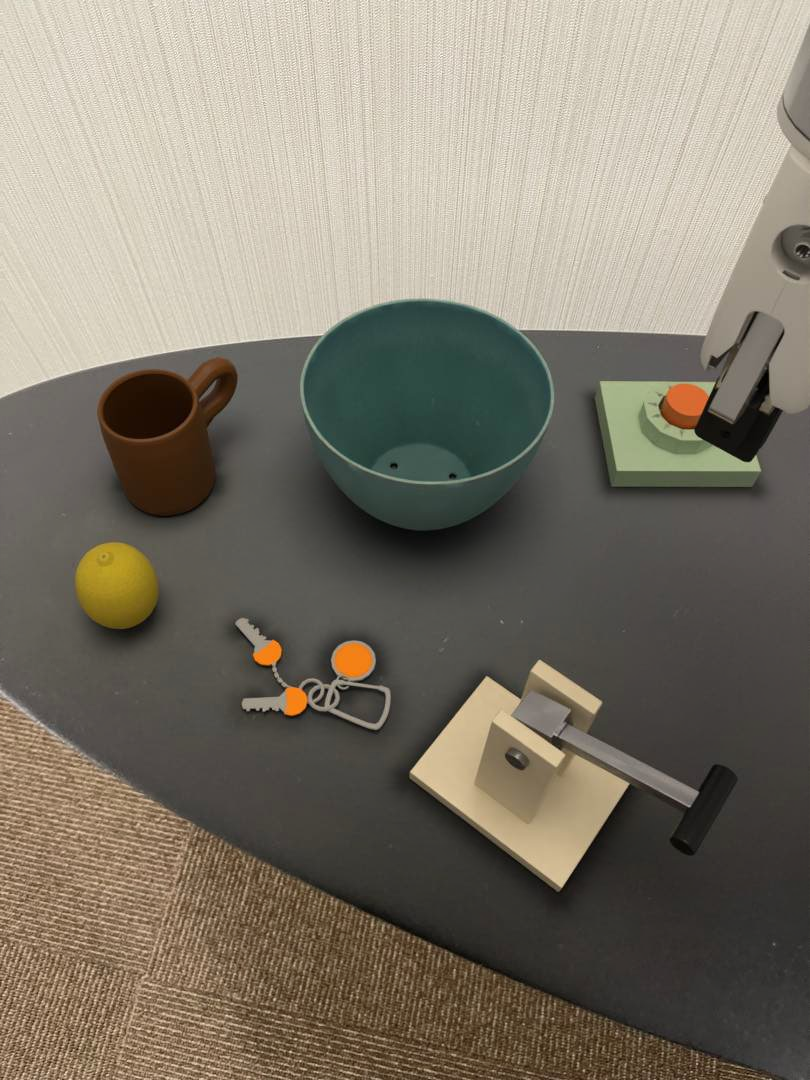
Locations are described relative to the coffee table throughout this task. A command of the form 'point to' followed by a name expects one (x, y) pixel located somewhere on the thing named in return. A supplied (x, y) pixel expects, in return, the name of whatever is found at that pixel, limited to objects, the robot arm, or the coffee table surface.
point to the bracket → (522, 777)
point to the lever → (633, 770)
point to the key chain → (347, 663)
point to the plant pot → (425, 409)
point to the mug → (165, 434)
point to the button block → (660, 442)
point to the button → (684, 405)
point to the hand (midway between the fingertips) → (727, 439)
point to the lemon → (116, 585)
